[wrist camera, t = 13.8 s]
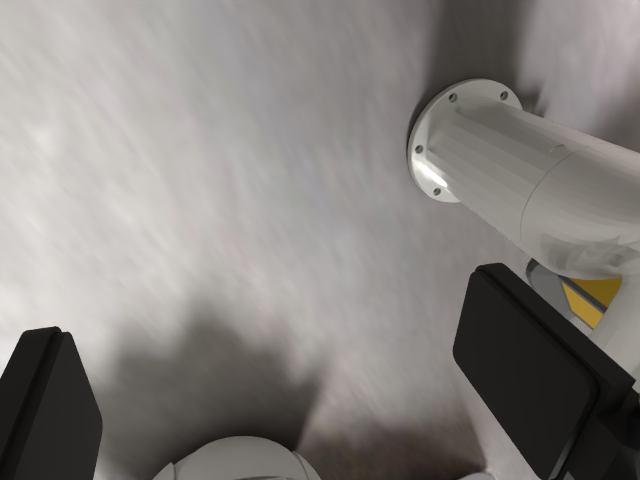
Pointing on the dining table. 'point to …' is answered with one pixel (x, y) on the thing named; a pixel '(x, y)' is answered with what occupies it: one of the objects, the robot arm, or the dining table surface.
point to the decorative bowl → (240, 462)
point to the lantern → (573, 293)
